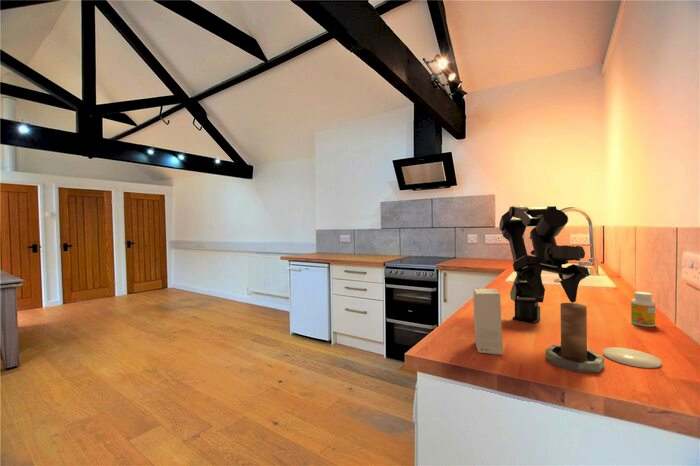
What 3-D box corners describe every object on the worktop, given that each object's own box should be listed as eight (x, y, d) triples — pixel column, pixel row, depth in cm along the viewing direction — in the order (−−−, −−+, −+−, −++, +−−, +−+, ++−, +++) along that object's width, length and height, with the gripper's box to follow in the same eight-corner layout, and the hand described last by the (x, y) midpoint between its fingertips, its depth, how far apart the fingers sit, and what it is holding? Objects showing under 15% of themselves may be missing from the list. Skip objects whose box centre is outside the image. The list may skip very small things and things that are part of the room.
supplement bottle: (626, 322, 98) (626, 291, 98) (642, 321, 99) (641, 290, 98) (644, 327, 93) (643, 295, 93) (660, 326, 93) (660, 294, 93)
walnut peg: (558, 362, 70) (557, 305, 70) (564, 356, 73) (564, 301, 73) (583, 369, 67) (583, 309, 67) (589, 362, 70) (589, 305, 70)
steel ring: (540, 361, 71) (540, 353, 71) (555, 350, 77) (555, 342, 77) (595, 377, 63) (595, 367, 63) (607, 362, 69) (607, 354, 69)
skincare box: (503, 355, 74) (502, 294, 74) (476, 353, 76) (475, 293, 76) (497, 343, 82) (497, 287, 82) (473, 341, 84) (472, 286, 84)
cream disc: (598, 357, 72) (598, 355, 72) (608, 346, 79) (608, 344, 79) (658, 372, 65) (658, 369, 65) (663, 358, 71) (663, 356, 71)
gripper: (536, 225, 79) (550, 283, 71) (598, 239, 81) (618, 296, 74) (507, 244, 88) (517, 297, 81) (564, 256, 91) (579, 308, 83)
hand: (557, 299), depth 79 cm, fingers open, 9 cm apart
